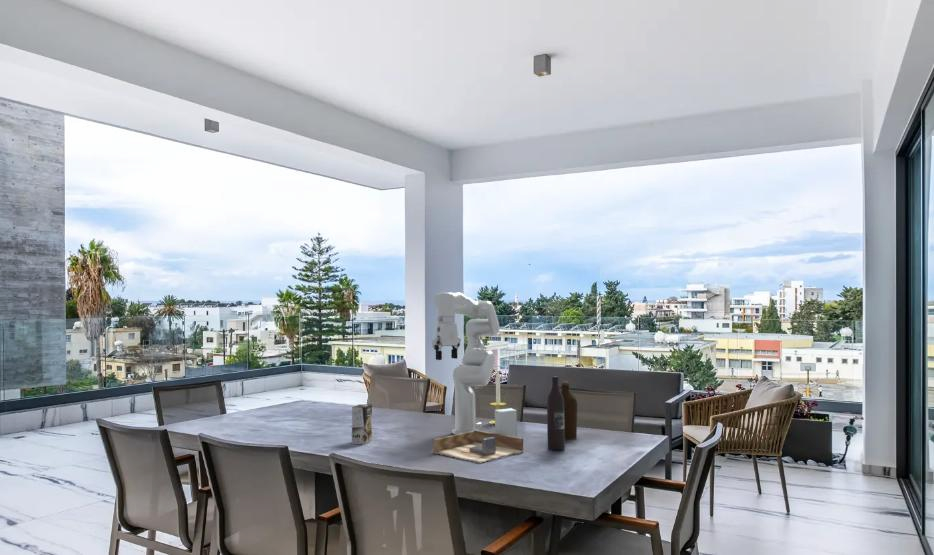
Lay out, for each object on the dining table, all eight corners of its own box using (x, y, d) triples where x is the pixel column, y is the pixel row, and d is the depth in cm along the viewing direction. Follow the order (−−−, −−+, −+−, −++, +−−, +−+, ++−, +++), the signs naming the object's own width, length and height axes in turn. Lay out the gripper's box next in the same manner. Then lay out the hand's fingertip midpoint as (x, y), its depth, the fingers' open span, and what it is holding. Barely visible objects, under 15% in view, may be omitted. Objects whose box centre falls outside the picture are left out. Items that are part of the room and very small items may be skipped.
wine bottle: (554, 451, 258) (553, 377, 260) (544, 448, 265) (543, 376, 266) (568, 450, 262) (567, 376, 263) (558, 446, 268) (557, 375, 269)
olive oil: (569, 434, 294) (569, 379, 295) (582, 438, 284) (581, 382, 286) (549, 436, 290) (549, 381, 291) (562, 440, 280) (561, 383, 282)
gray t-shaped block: (495, 452, 253) (495, 437, 253) (486, 455, 249) (486, 439, 249) (478, 449, 259) (478, 434, 259) (468, 451, 255) (468, 436, 255)
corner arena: (476, 443, 276) (476, 430, 277) (523, 452, 258) (523, 438, 259) (433, 453, 257) (433, 439, 258) (480, 463, 240) (480, 448, 240)
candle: (487, 424, 320) (486, 370, 321) (489, 421, 330) (489, 368, 331) (507, 424, 318) (506, 370, 320) (509, 421, 328) (508, 369, 330)
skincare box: (512, 442, 278) (511, 407, 279) (517, 444, 272) (517, 409, 273) (494, 443, 275) (494, 409, 276) (499, 446, 269) (499, 411, 270)
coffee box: (365, 444, 275) (365, 407, 275) (351, 444, 276) (351, 406, 277) (372, 440, 284) (372, 404, 284) (359, 439, 285) (359, 403, 286)
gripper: (438, 320, 272) (438, 360, 272) (466, 320, 285) (466, 358, 284) (426, 320, 278) (426, 360, 277) (454, 319, 290) (454, 357, 289)
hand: (446, 359), depth 280 cm, fingers open, 9 cm apart
